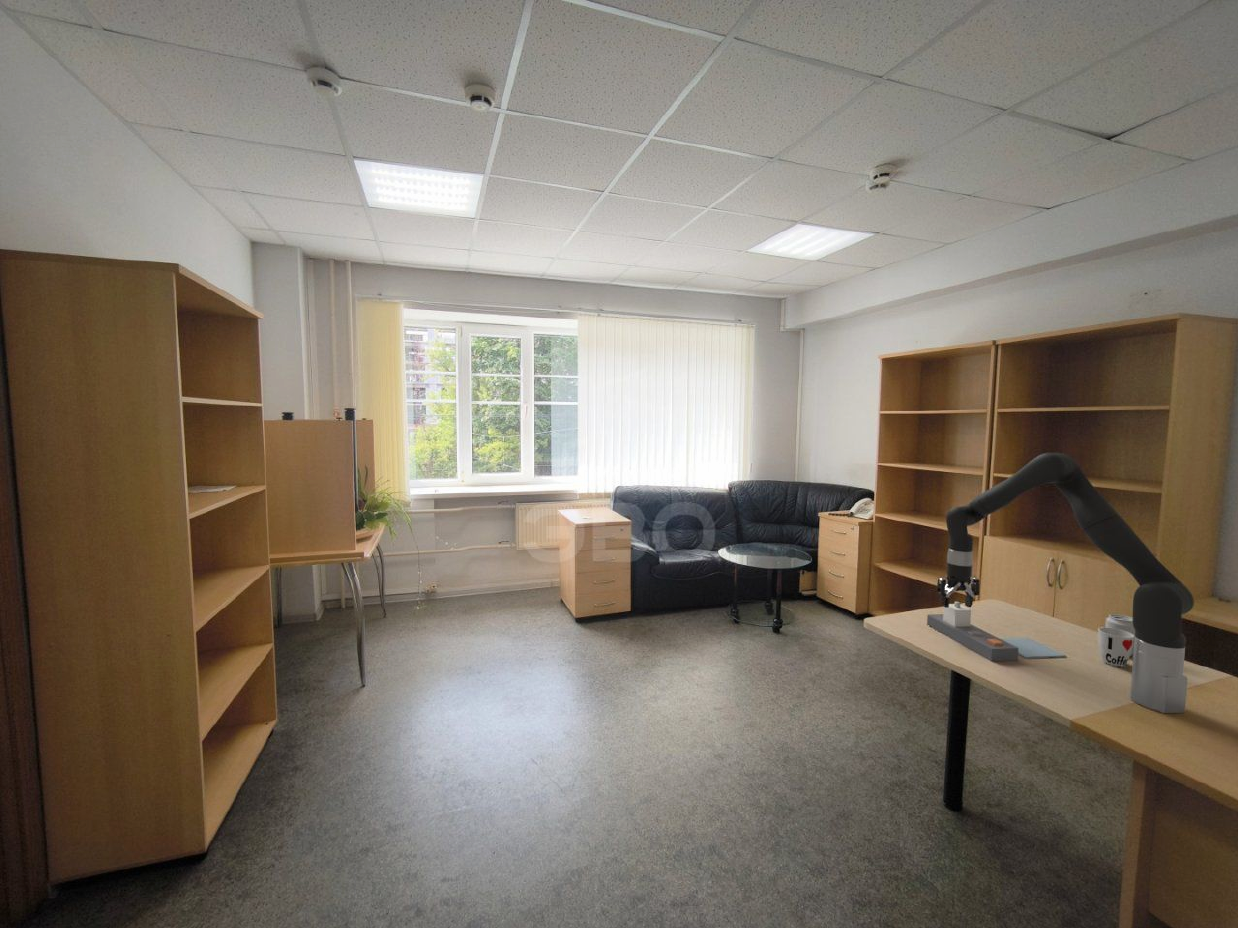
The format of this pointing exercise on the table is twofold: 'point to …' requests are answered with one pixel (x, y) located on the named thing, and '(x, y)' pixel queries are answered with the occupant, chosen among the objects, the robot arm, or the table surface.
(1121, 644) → the cup
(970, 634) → the power strip
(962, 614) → the block
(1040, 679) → the table surface
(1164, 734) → the table surface
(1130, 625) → the can
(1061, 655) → the mat
